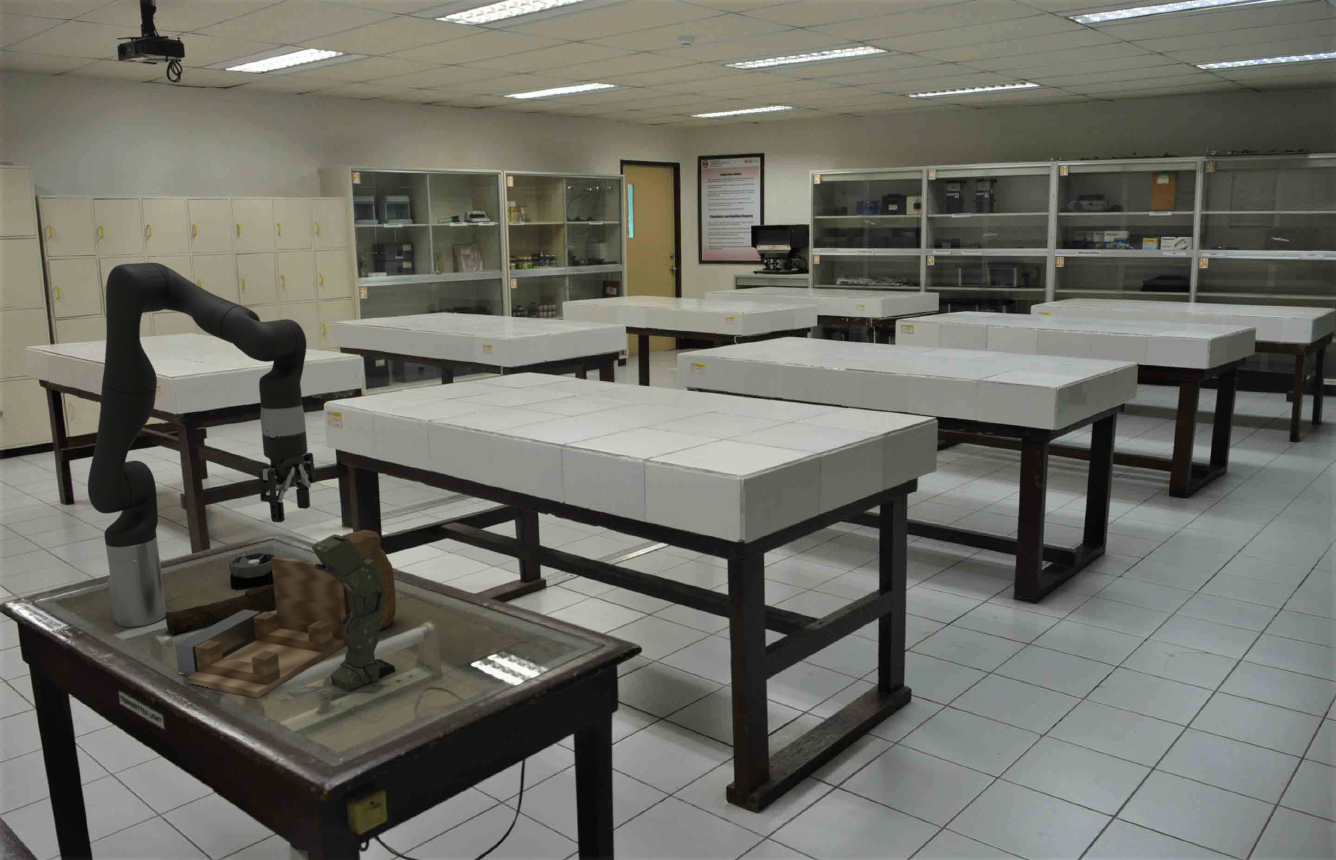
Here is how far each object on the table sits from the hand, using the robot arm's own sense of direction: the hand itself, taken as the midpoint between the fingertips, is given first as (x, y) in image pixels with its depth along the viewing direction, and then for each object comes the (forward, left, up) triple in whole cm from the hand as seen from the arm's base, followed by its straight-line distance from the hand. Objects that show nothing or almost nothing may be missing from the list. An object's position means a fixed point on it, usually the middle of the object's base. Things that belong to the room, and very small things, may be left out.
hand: (291, 514), depth 180 cm
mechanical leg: (+18, -7, -27) cm, 33 cm away
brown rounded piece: (+5, +12, -27) cm, 30 cm away
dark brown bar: (-26, +6, -27) cm, 38 cm away
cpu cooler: (-37, +25, -27) cm, 52 cm away
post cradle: (-2, -8, -27) cm, 28 cm away
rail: (-13, -8, -27) cm, 31 cm away
